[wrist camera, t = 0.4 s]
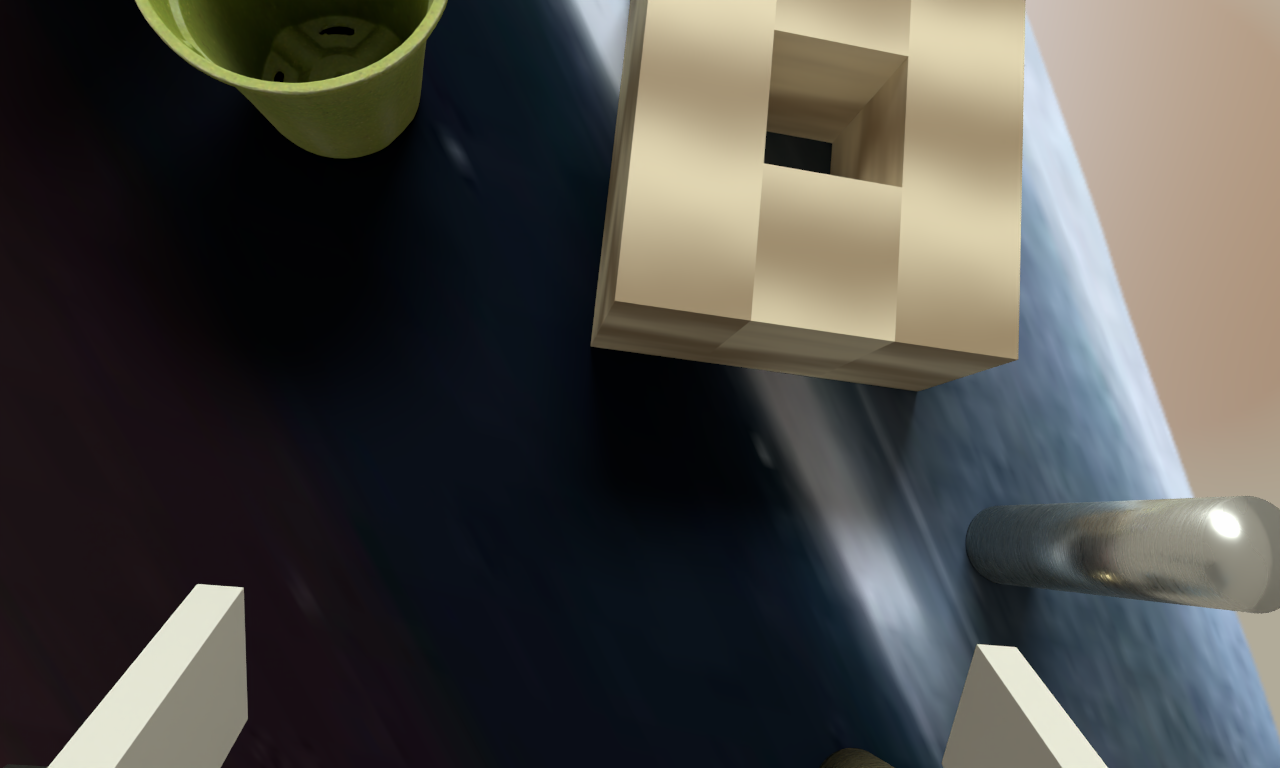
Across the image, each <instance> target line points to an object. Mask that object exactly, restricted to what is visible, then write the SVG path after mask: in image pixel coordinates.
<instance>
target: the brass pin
mask: <svg viewBox="0 0 1280 768" xmlns="http://www.w3.org/2000/svg"><path fill="white" fill-rule="evenodd" d="M819 768H894V767H892V766H891V765H889V764H887V763H886V762H884V761H883V760H881V759H879V758H878V757H876V756H874V755H873V754H871V753H869V752H867V751H865V750H862V749H858V748H846V749H842V750H839V751H837V752H835V753H833V754H832V755H830V756H829V757H828V758H827V759H826V760H825V761H824V762H823V763H822V764H821V766H820V767H819Z"/></svg>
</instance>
